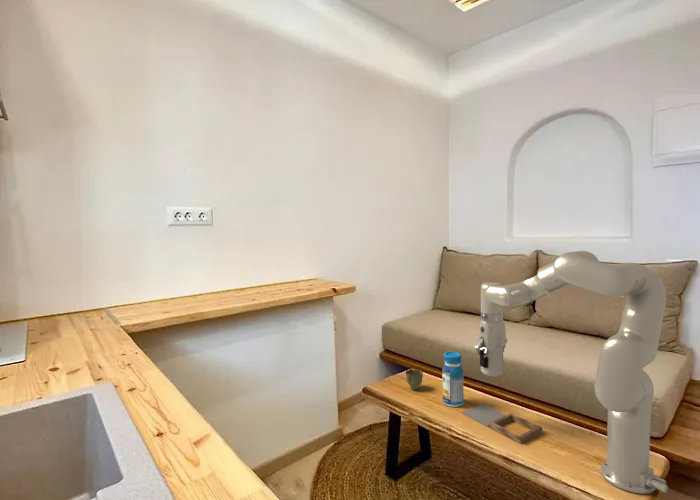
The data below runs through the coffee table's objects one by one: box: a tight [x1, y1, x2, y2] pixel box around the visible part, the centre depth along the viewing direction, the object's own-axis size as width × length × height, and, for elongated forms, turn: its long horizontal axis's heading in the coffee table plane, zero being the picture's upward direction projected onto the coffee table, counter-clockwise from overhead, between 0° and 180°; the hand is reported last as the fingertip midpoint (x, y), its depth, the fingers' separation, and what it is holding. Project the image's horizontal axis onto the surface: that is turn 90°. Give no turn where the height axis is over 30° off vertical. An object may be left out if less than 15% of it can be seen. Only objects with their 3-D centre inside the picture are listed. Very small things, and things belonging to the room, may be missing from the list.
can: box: [480, 343, 504, 378], centre depth 141 cm, size 8×8×12 cm
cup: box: [405, 368, 424, 391], centre depth 170 cm, size 8×7×8 cm
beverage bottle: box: [441, 351, 465, 408], centre depth 155 cm, size 8×8×20 cm
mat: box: [461, 403, 507, 428], centre depth 145 cm, size 12×12×1 cm
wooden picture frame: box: [489, 413, 543, 444], centre depth 134 cm, size 12×12×2 cm
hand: (491, 364), depth 141 cm, fingers closed on can, 7 cm apart
